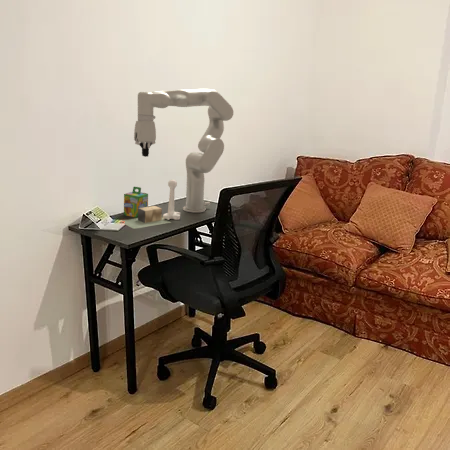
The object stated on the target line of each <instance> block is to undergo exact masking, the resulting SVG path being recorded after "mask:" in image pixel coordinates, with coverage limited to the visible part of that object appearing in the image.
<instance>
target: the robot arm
mask: <svg viewBox="0 0 450 450" xmlns="http://www.w3.org/2000/svg"><path fill="white" fill-rule="evenodd" d="M204 106H205V107H208V108H207V115H208V119H209V120H208V121H209V122H208V125H207V128H206V130H205V132H204V133H203V135H202V137H201V138H200V139H199V141H198V144H197V148H198V150H199V151H200V152H196V151H193V152H190V153H189V154H188V155H187V156H186V158H185V169H186V190H185V193H186V194H185V195H186V197H185V205H184V206H183V207H182V210H183V211H184V212H187V213H193V214H196V213H197V214H198V213H204V212H206V211H205V210H207V208H206V206H210V205H211V202H210V201H204V200H205V197H204V195H205V174H208V173H211V171H212V170H213V169H214V168H215V166H216V164H217V163H218V162H219V160H220V158H221V156H222V155H223V153H224V150H225V143H224V141H223V140H222V139H221V137H222V135H223V133H224V131H225V130H224V129H225V125H224V122H226V121H227V122H228V121H229V120H232V118H233V117H234V109H233V106H232V105H231V104H230V103H229V102H228V101H227V100H226V99H225V98H224V97H223V95H221V94H220V93H219V92H218V91H217V90H215V89H213V88H211V89H210V88H195V89H193V88H190V89H175V90H160V91H159V90H158V91H151V92H147V91H140V92H138V93H137V120H136V121H135V125H134V130H133V131H134V133H133V140H134V141H135V143H134V144H135V145H137V146H140V148H141V156H142V157H149V154H150V151H149V149H150V148H151V146H152V145H155V144H156V139H157V129H156V123H155V121H154V120H155V119H156V116H155V115H154V109H155V108H158V109H166V108H168V107H177V108H189V107H204Z"/></svg>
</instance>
